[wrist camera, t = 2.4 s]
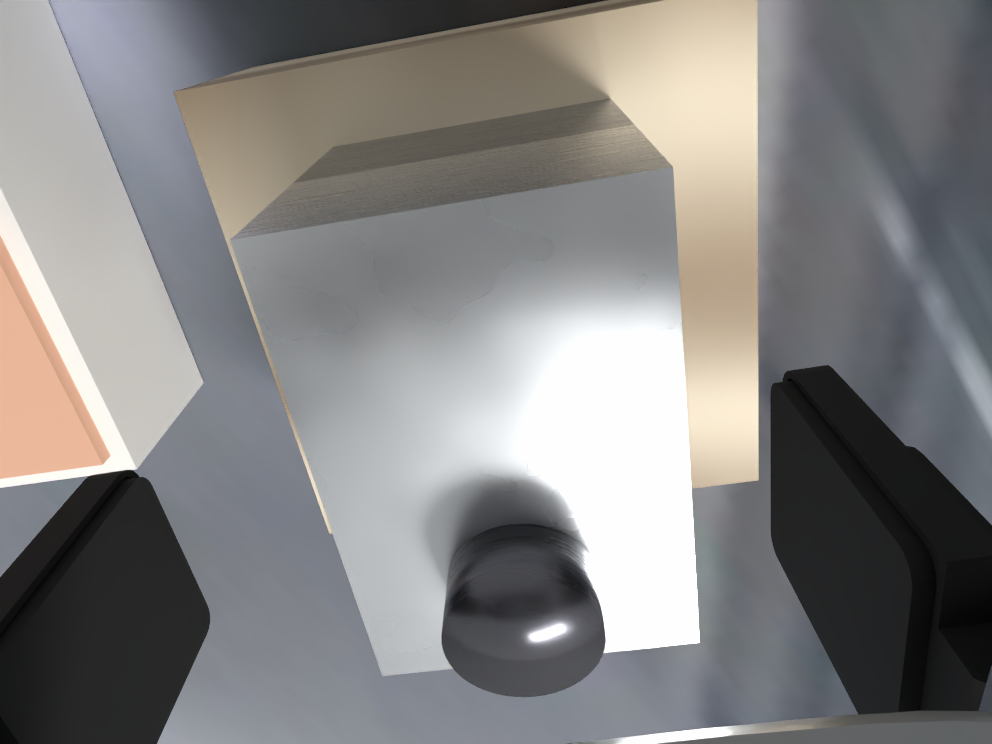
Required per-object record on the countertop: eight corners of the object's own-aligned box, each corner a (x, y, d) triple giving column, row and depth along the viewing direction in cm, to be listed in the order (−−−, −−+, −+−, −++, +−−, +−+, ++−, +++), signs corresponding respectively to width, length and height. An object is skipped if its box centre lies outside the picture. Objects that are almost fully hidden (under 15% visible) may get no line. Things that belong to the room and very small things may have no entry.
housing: (332, 146, 14) (192, 273, 8) (610, 98, 14) (695, 192, 8) (419, 473, 18) (371, 738, 12) (642, 444, 18) (717, 704, 11)
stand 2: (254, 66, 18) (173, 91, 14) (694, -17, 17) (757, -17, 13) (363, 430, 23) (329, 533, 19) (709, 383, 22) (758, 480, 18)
